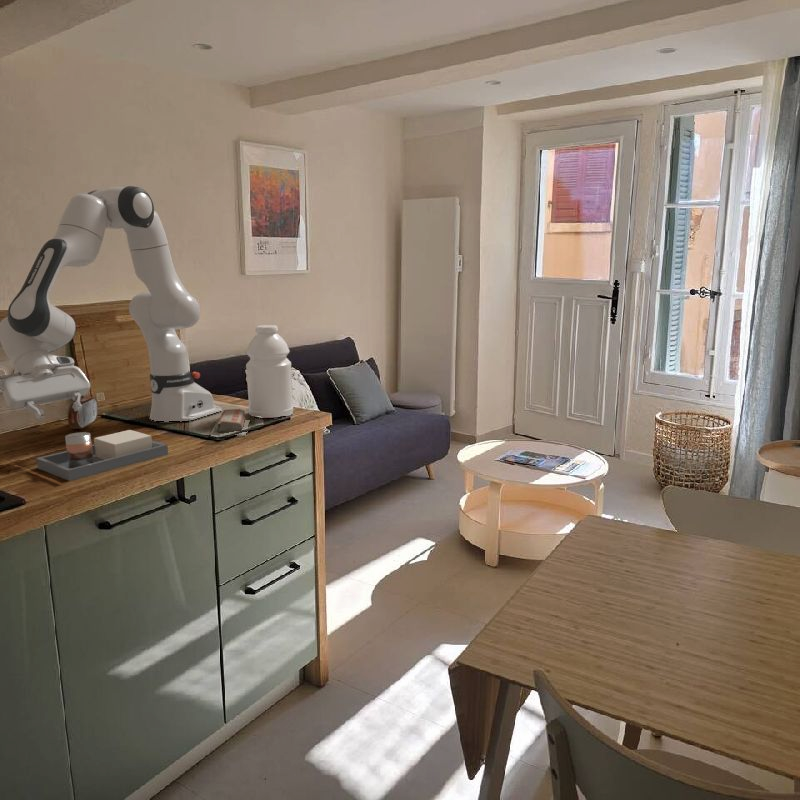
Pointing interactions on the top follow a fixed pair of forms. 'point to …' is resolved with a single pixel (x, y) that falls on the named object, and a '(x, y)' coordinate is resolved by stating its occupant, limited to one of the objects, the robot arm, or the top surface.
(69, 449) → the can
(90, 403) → the brown grey rounded block
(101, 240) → the robot arm
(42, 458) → the tray
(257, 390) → the bottle
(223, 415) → the packaged product
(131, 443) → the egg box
